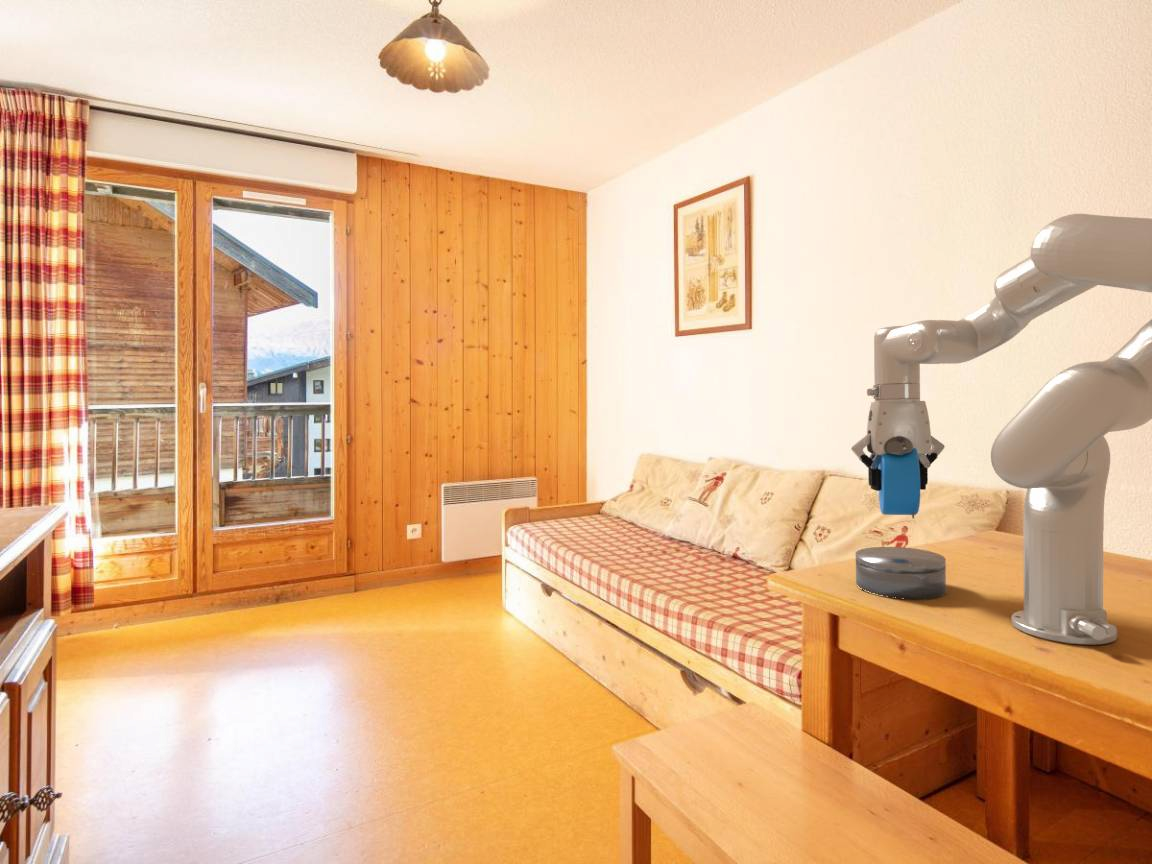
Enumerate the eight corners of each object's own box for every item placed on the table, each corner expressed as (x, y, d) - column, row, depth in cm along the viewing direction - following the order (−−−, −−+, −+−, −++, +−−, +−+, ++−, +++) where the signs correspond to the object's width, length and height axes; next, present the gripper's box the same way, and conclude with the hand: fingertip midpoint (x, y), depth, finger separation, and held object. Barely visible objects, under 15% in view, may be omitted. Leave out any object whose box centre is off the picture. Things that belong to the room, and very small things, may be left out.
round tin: (962, 599, 112) (962, 565, 112) (874, 600, 114) (873, 566, 113) (922, 576, 127) (922, 546, 127) (844, 577, 128) (844, 547, 128)
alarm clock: (921, 521, 113) (919, 436, 112) (882, 520, 115) (880, 436, 115) (912, 510, 125) (910, 433, 125) (877, 509, 127) (875, 434, 127)
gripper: (856, 395, 116) (857, 493, 117) (956, 392, 114) (957, 491, 115) (841, 395, 123) (842, 487, 124) (935, 392, 122) (936, 485, 123)
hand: (897, 488), depth 120 cm, fingers closed on alarm clock, 7 cm apart
